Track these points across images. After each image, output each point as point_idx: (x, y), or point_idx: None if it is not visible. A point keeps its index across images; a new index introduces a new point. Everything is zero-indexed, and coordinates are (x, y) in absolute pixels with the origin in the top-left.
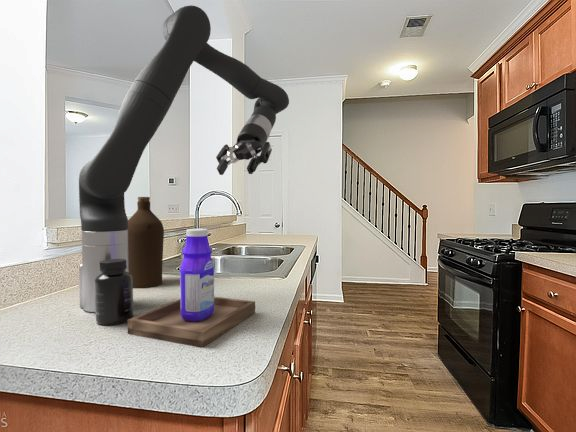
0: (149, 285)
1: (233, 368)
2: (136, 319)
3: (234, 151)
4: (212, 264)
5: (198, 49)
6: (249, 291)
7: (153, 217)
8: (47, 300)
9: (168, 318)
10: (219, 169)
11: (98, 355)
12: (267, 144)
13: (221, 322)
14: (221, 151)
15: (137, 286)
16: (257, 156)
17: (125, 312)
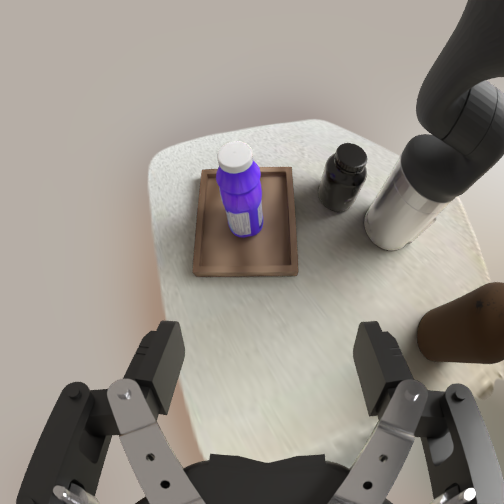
0: (420, 323)
1: (167, 162)
2: (284, 170)
3: (353, 467)
4: (220, 195)
5: None
6: (255, 377)
7: (497, 321)
8: (455, 220)
9: (274, 204)
10: (361, 322)
11: (273, 141)
12: (28, 485)
13: (199, 196)
14: (480, 446)
15: (430, 310)
16: (109, 390)
17: (319, 187)
